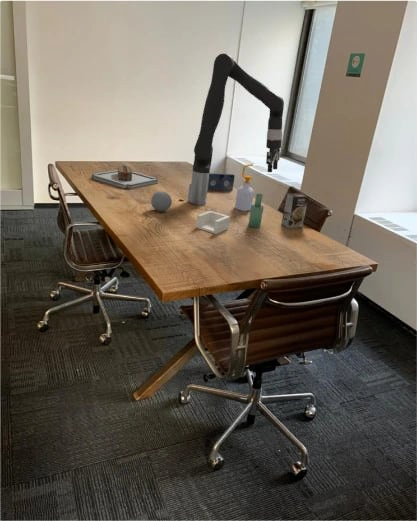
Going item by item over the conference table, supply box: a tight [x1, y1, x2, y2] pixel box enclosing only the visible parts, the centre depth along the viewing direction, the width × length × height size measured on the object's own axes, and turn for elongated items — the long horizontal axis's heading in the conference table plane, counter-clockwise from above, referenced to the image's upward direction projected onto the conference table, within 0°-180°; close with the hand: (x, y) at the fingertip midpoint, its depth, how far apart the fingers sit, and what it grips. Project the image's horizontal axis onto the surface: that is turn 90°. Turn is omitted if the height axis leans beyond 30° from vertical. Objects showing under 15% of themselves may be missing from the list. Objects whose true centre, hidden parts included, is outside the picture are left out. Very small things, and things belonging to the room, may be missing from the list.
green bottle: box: [247, 192, 265, 229], centre depth 215 cm, size 6×6×16 cm
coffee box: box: [281, 193, 309, 229], centre depth 223 cm, size 9×6×16 cm
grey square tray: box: [91, 165, 159, 190], centre depth 267 cm, size 30×30×8 cm
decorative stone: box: [150, 190, 173, 213], centre depth 220 cm, size 10×10×10 cm
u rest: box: [195, 210, 231, 235], centre depth 206 cm, size 11×11×6 cm
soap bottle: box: [234, 163, 255, 212], centre depth 239 cm, size 9×9×25 cm
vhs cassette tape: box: [207, 172, 236, 192], centre depth 274 cm, size 18×3×10 cm, turn 108°
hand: (272, 170), depth 230 cm, fingers open, 8 cm apart
